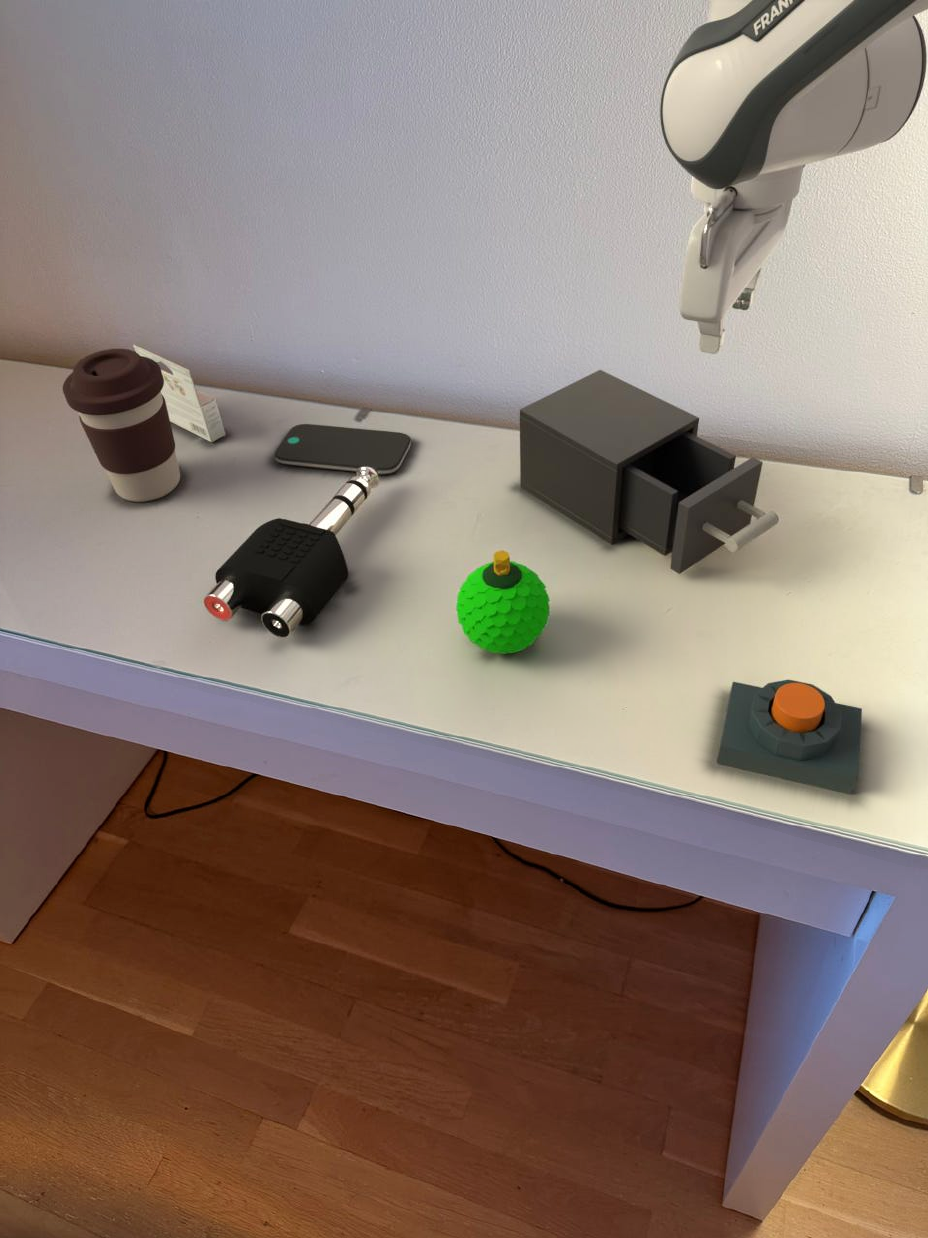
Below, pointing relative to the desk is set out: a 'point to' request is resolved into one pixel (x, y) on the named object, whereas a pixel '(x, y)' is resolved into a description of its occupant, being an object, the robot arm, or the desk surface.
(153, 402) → the coffee cup
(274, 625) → the audio adapter
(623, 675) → the desk surface
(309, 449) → the smartphone
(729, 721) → the control block
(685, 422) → the small drawer cabinet
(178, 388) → the ink box
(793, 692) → the button
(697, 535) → the drawer
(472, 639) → the ornament
